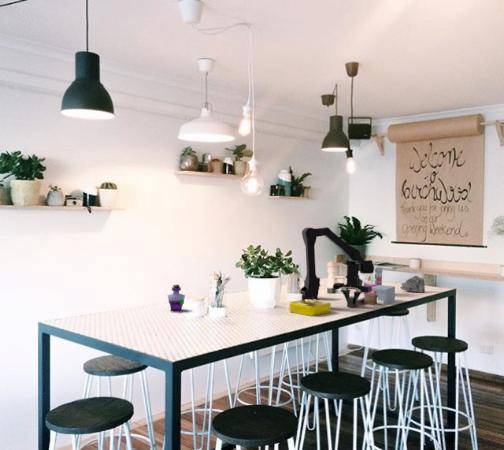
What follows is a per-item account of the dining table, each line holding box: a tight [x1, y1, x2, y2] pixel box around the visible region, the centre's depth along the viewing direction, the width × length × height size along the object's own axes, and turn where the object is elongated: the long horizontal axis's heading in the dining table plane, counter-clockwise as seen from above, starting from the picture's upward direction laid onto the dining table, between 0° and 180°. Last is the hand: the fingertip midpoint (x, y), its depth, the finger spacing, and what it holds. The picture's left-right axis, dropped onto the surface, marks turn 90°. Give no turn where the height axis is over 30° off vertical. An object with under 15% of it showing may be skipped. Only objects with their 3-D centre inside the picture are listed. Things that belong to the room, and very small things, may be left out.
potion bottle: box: [167, 284, 186, 312], centre depth 248 cm, size 9×9×12 cm
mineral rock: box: [400, 275, 426, 294], centre depth 320 cm, size 13×11×10 cm
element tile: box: [288, 299, 331, 317], centre depth 248 cm, size 15×15×5 cm
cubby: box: [372, 284, 396, 306], centre depth 280 cm, size 14×9×8 cm, turn 146°
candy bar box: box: [363, 266, 383, 297], centre depth 304 cm, size 11×5×16 cm, turn 25°
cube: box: [363, 294, 378, 306], centre depth 273 cm, size 5×5×5 cm
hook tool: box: [346, 295, 365, 309], centre depth 269 cm, size 21×6×5 cm, turn 147°
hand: (351, 304), depth 263 cm, fingers closed on hook tool, 3 cm apart
